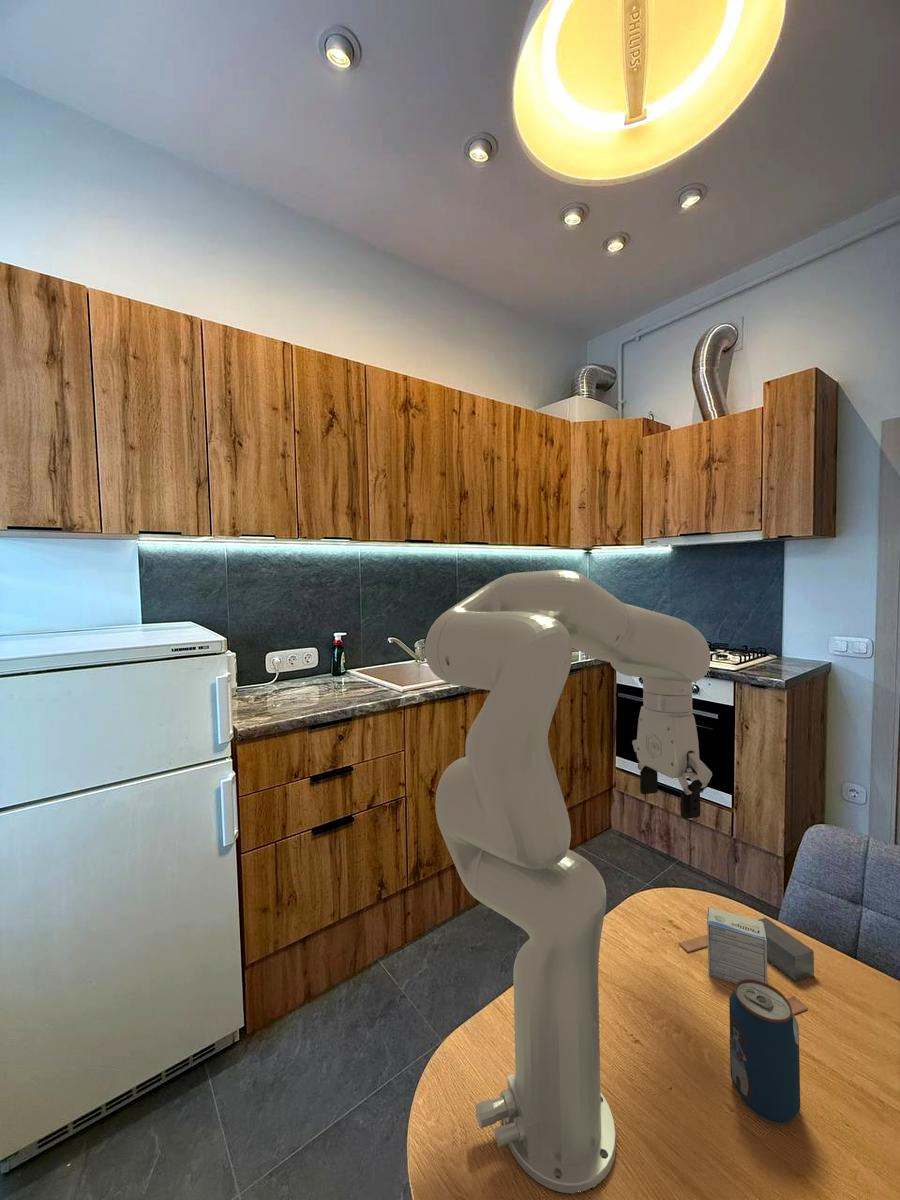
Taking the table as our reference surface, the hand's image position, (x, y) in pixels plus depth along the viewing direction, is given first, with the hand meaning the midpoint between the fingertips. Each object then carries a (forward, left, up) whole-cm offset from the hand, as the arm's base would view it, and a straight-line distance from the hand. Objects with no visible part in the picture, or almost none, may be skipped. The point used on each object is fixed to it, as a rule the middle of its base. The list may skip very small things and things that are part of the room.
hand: (668, 804), depth 78 cm
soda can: (-6, -21, -26) cm, 34 cm away
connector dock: (+10, -6, -25) cm, 28 cm away
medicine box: (+7, -7, -26) cm, 27 cm away
